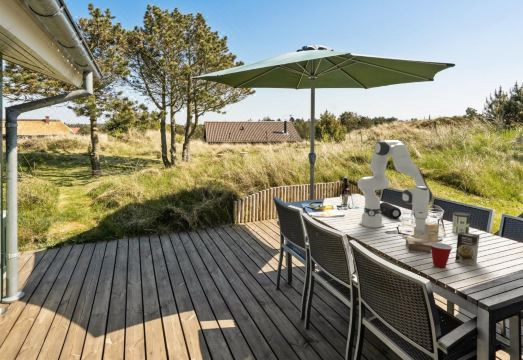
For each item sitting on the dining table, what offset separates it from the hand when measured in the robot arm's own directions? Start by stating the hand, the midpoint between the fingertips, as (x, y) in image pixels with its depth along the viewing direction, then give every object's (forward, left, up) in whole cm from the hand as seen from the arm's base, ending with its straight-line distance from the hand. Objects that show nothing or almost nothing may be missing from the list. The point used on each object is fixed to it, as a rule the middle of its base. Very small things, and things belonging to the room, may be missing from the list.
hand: (418, 234), depth 186 cm
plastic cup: (+24, +9, -10) cm, 27 cm away
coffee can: (-46, +30, -10) cm, 56 cm away
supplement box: (-14, +8, -10) cm, 19 cm away
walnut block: (0, 0, -10) cm, 10 cm away
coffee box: (+13, +23, -10) cm, 28 cm away
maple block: (0, 0, -2) cm, 2 cm away
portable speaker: (-79, -18, -10) cm, 82 cm away
